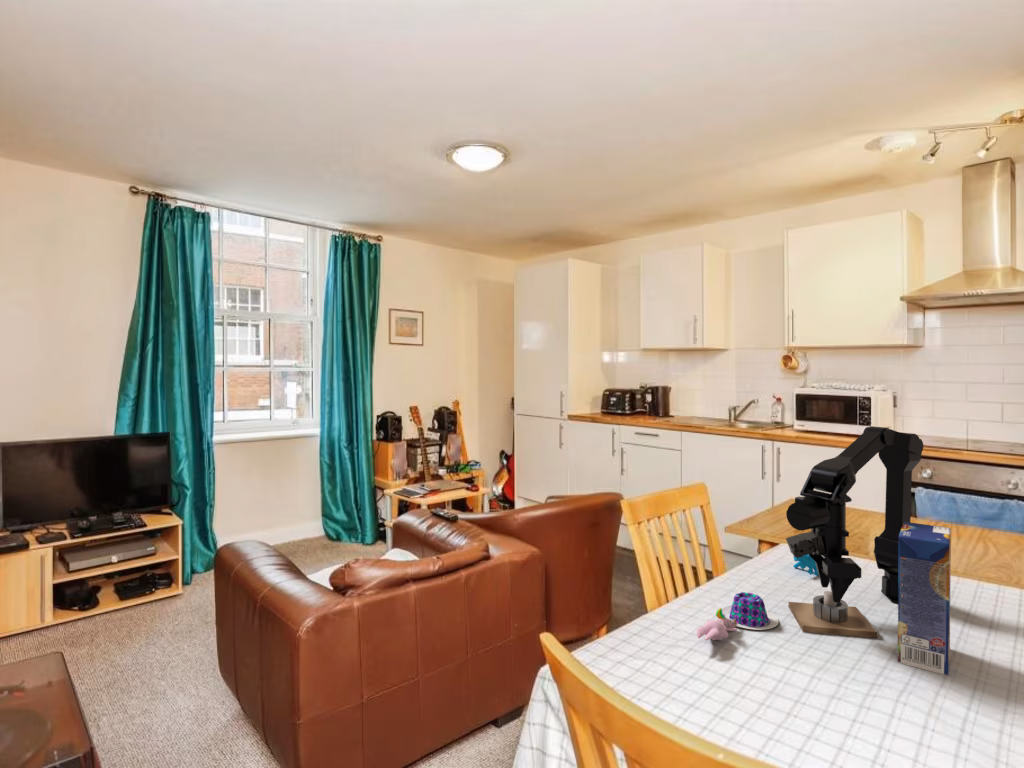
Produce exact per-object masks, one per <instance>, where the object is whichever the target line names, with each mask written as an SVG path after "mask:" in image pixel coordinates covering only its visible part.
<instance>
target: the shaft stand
mask: <svg viewBox="0 0 1024 768" xmlns="http://www.w3.org/2000/svg"><path fill="white" fill-rule="evenodd" d="M823 595H824V605H826V606H830V607H837V602H834V601H833V597H832V592H831V590H827V591H826V590H825V591H823ZM787 607H788V608H789V610H790V612H791V614H792V615H793V618H794V619H795V621H796V622H797V624H798V626H799V627H800V629H801V632H805V633H806V632H807V633H815V634H817V633H818V634H827V635H839V636H840V635H841V636H853V637H863V638H874V639H878V631H877V630H876V628H874V626H873V625H872V624H871V623H870V622H869V620H868V619H867V618H866V617H865V616H864V615H863V613H862V612H861V611H860V610H859V609H858V607H856V606H851V605H850V606H849V605H848V619H847V621H845V622H842V623H832V622H827V621H824V620H822V619H819V618H818V617H816V616H815V615H814V613H813V603H811V602H808V603H807V602H798V601H796V602H795V601H788V605H787Z"/></svg>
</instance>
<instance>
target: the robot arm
mask: <svg viewBox="0 0 1024 768" xmlns="http://www.w3.org/2000/svg"><path fill="white" fill-rule="evenodd" d="M924 446H925V445H924V442H923V440H922V438H920V437H919V435H918V434H916V433H911V432H910V433H909V432H900V431H897V430H894V429H892V428H889V427H884V426H872V425H870V426H867V427H865V428H864V430H863V432H862V433H861V435H859V436H858V437H857V438H856V439H855V440H854V441H852V443H850V444H849V445H848V446H847V447H845V449H844V450H843V451H841V452H840V453H839V454H838V455H836V456H835V457H833V458H828V459H825V460H822V461H820V462H819V463H817V464H815V465H814V466H813V467H812V468H811V470H810V471H809V474H808V476H807V478H806V480H805V482H804V484H803V486H802V489H801V490H800V493H799V495H800V496H795V497H794V502H793V503H791V504H790V505H788V508H787V510H786V513H785V515H786V519H787V522H788V524H789V525H790V526H791V527H792V528H793V529H795V530H797V531H801V532H802V533H799V534H795V535H793V536H792V535H791V536H788V537H786V539H785V540H786V543H787V545H788V548H789V550H790V551H791V552H790V553H791V554H792V555H793V557H796V558H799V557H802V556H803V555H807V554H808V555H809V556H810V557H811V558H812V559H813V560H814V561H815V563H816V567H817V570H818V574H819V576H818V577H819V581H820V585H821V587H822V588H828V587H829V586H830V591H831V592H832V597H833V601H834V602H838V603H839V602H840V601H841V600H843V597H844V595H845V594H846V592H847V591H848V589H849V587H850V586H851V585H852V583H854V580H856V579H862V568H861V566H860V565H858V564H857V563H856V561H855V560H853V558H851V557H850V551H849V550H848V549H847V548H846V545H847V543H846V539H847V538H849V537H850V531H848V530H847V529H846V528H847V526H846V524H847V523H846V520H847V518H846V517H847V515H846V514H847V513H846V512H847V511H846V508H847V506H846V503H851V502H852V501H853V499H852V498H851V497H850V496H849V495H848V493H849V492H850V491H851V489H852V488H853V486H854V485H855V483H856V482H857V476H856V475H857V473H858V472H859V471H860V470H861V469H862V468H863V467H864V466H866V465H867V464H868V463H869V462H870V461H871V460H872V459H873V458H874V457H875V456H876V455H877V454H878V457H879V460H880V461H881V463H882V465H883V466H884V468H885V470H886V471H885V472H886V473H885V474H886V476H885V505H884V506H885V508H884V517H885V518H884V529H883V531H882V532H881V533H880V534H879V536H877V535H876V536H875V537H874V540H873V541H874V548H873V554H874V557H875V563H876V566H877V569H879V570H884V571H883V574H884V575H882V576H881V590H880V592H881V593H882V594H883V595H884V596H885V597H886V598H887V599H888V600H889V601H890V602H891V603H896V604H898V563H899V534H900V531H901V529H902V526H903V523H904V522H910V523H911V519H912V518H911V515H912V513H911V511H912V483H913V482H912V480H913V478H912V476H913V470H914V469H915V468H916V467H917V465H918V464H919V463H920V462H921V459H922V453H923V451H924ZM806 530H810V531H808V532H803V531H806ZM846 537H847V538H846ZM843 556H846V557H843Z"/></svg>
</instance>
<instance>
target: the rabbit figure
mask: <svg viewBox="0 0 1024 768" xmlns="http://www.w3.org/2000/svg"><path fill="white" fill-rule="evenodd" d="M722 609H723V608H722V607H720V608H718V610H717V611H716V612H715V616H716V618H717V619H716V620H714V619H713V620H710V619H707V622H705V624H704V625H703V626H699V627H698V628H697V629H696V637H697V638H698V639H700V638H702V637H704V635H705V638H704V641H708V640H710V639H711V640H714V641H717V640H718V641H719V640H725V639H726V638H728V637H729V633H728V632H736V631H738V628H736V627H737V626H736V625H738V624H737V622H736V619H734V620H731V619H730V618H728V617H727V618H726V617H725V615H724V614H723V613H722Z"/></svg>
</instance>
